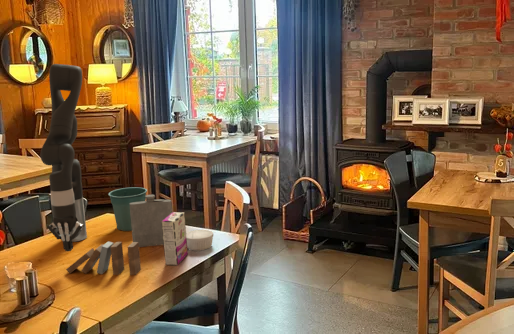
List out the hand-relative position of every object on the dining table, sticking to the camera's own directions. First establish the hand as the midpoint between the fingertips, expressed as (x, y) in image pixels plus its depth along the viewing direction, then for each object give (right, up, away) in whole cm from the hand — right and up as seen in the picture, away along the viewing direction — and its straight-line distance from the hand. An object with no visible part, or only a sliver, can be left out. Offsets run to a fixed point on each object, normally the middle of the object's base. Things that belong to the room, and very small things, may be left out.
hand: (68, 250), depth 181 cm
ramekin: (+43, -2, +21) cm, 48 cm away
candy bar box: (+36, -5, +8) cm, 37 cm away
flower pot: (+10, +2, +50) cm, 51 cm away
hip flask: (+24, -2, +26) cm, 36 cm away
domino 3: (+12, -7, 0) cm, 14 cm away
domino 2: (+6, -7, +1) cm, 9 cm away
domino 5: (+24, -7, -2) cm, 25 cm away
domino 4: (+18, -7, -1) cm, 19 cm away
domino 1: (0, -7, +1) cm, 7 cm away
